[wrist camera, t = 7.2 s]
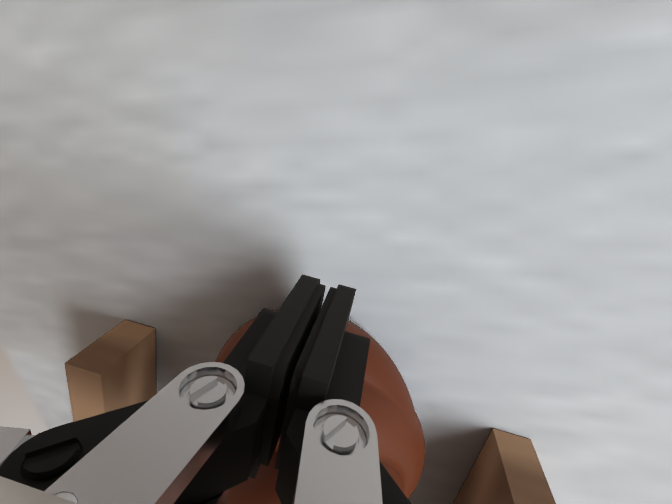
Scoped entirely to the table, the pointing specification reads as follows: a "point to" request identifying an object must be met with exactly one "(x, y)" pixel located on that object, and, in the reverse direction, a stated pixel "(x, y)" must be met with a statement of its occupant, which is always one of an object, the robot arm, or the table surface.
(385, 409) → the poop emoji
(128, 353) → the cubby
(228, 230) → the table surface
